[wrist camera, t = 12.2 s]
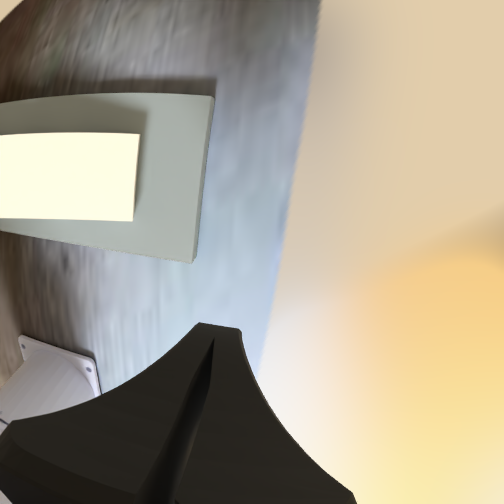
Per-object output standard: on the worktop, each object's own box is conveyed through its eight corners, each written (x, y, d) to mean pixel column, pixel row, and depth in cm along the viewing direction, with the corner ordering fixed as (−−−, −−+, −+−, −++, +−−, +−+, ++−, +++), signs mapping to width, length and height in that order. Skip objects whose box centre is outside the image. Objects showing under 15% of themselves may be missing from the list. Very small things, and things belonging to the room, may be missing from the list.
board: (196, 256, 19) (192, 263, 18) (-42, 216, 19) (-51, 220, 18) (215, 99, 16) (211, 96, 15) (-41, 113, 16) (-50, 114, 15)
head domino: (132, 221, 16) (-4, 218, 13) (134, 214, 17) (7, 211, 14) (139, 134, 14) (-3, 135, 12) (140, 134, 16) (8, 134, 13)
